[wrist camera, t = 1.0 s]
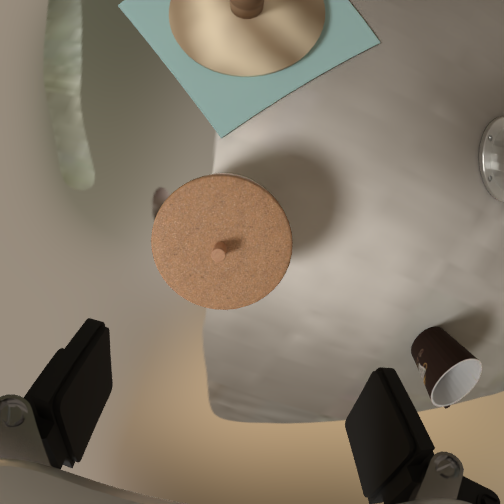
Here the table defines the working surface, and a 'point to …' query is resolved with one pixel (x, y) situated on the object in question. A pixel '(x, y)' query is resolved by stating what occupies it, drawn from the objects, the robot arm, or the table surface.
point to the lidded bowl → (222, 241)
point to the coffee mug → (445, 366)
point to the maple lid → (246, 33)
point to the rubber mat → (249, 88)
